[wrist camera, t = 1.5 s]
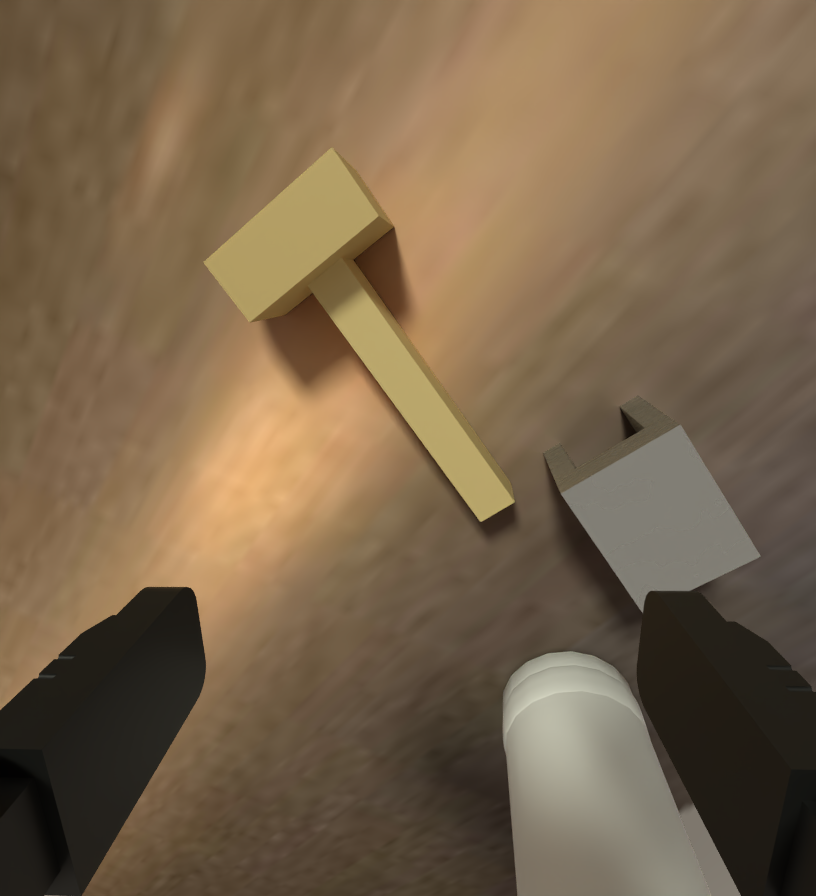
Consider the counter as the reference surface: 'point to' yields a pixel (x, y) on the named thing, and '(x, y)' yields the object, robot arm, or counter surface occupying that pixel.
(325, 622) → the counter surface
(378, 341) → the yellow t-shaped block
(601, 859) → the bottle
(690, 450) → the slotted grey block
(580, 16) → the counter surface
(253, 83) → the counter surface
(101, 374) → the counter surface
